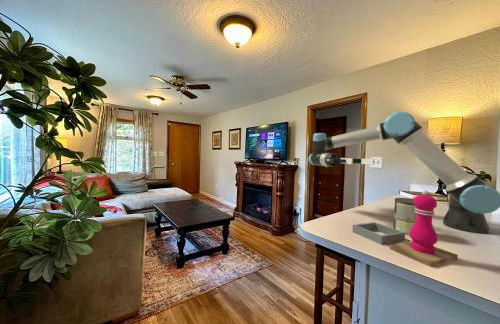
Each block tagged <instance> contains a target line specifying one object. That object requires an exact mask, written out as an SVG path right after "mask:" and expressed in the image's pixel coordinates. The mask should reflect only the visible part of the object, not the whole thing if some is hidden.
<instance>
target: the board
mask: <svg viewBox="0 0 500 324" xmlns="http://www.w3.org/2000/svg"><path fill="white" fill-rule="evenodd" d="M411 241H412V240H408V241H401V242H398V243H397V242H396V243H391V244H389V245H390V246H389V247H390V248H389V249H390V250H392V251H394V252H396V253H398V254H401V255H403V256H405V257H407V258H409V259H412V260H414V261H416V262H419V263H422V264H423V265H425V266H428V267H430V268H432V267H436V266H438V265H442V264H445V263H450V262H452V261H453V262H454V261H456V260H458V257H459V255H458V254H456V253H453V252H450V251H448V250H445V249H443V248H439V247H437V246H434V247H435V253H433V254H428V253H423V252H419V251H416V250H414V249H412V248H411Z"/></svg>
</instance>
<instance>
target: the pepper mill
mask: <svg viewBox="0 0 500 324" xmlns="http://www.w3.org/2000/svg"><path fill="white" fill-rule="evenodd" d="M429 194H430V192H429V191H428V190H426V189H424V190H422V191H421V194H418V195H416V196H415V197H414V198H413V199H414V200H413V203H414V205H415V206H416V208H415V213H416V221H415V223H414V225H413V227H412V228H411V230H410V233H409V236H408V237H409V238H411V240H410V241H411V248H412V249H414V250H416V251H419V252H423V253H428V254H433V253H435V247H436V246H435V245H436V244H437V243H438V240H439V239H438V234H437V232H436V230H435V229H434V226H433V217H434V216H435V209H436V208H437V206H438V201H437V200H436V198H435V197H433V196H431V195H429Z"/></svg>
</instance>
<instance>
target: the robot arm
mask: <svg viewBox="0 0 500 324" xmlns="http://www.w3.org/2000/svg"><path fill="white" fill-rule="evenodd" d="M423 131H424V127H423V126H422V125H421V124H419V123H418V122H417V121H416V120H415V117H414V116H413V115H412V114H411V113H409V112H406V111H396V112H393V113H391V114H390V115H389V116H387V118H386V119H385V120H384V122H381V123H378V125H376V126H373V127H367V128H363V129H359V130H355V131H350V132H346V133H342V134H338V135H334V136H329V137H327V134H326V132H325V133H324V132H318V133H317V132H315V133H313V135H312V151H311V152H312V153H310V154H309V156H308V158H307V159H308V162H309V164H310V165H313V166H319V167H325V168H328V167H329V168H330V167H331V168H336V167H338V166H340V165H353V164H361V165H373V166H374V165H375V158H365V157H364V156H363V157H361V158H353V157H352V158H351V157H350V158H349V157H346V156H345V157H344V156H340V155H339V154H338V153H336V152H334V153H333V152H326V151H329V150H332V149H336V148H341V147H345V146H351V145H356V144H357V145H358V144H362V143H366V142H371V141H375V140H376V141H377V140H381V141H384V140H385V141H386V140H394V141H395V143H397V144H398V145H401V146H405V147H406V148H407V149H408V150H410V152H411V153H412V154H413V155H414V156H416V158H417V159H418V160H419V161H421V163H423V164H424V165H425V166H426V168H428V169H429V170H430V171H431V172H432V173H433V174H434V175H435V176H436V177H437V178H439V179H440V181H441V182H442V183H444V184H445V187H446V188H445V191H446V192H447V193H448V194H449V199H448V208H447V209H448V210H447V211H446V213H445V215H444V217H443V219H442V224H443V225H444V226H446V227H449V228H453V229H455V230H459V231H463V232H469V233H478V234H486V233H487V234H488V233H490V226H489V223H488V221H487V218H486V215H485V214H490V213H493V212H496V211H497V210H498V209H499V208H500V192H499V191H498V190H497V189H496V188H494V187H492V186H489V185H488V184H487V182H486V180H483V179H481V178H480V177H479V176H478V175H477V174H472V173H471V174H470V173H468V172H466V171H465V169H464V168H463V167H461V166H460V165H459V164H458V163H457V162H456V161H455V160H453V159H452V158H451V157H450V156H449V155H448V154H447V153H446V152H445V151H444V150H442V149H441V148H440V147H439V146H438V145H437V144H436V143H434V142H433V141H432V140H431V139H430V138H429V137H428V136H427V135H426V134H424V132H423Z"/></svg>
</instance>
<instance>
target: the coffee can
mask: <svg viewBox="0 0 500 324" xmlns="http://www.w3.org/2000/svg"><path fill="white" fill-rule="evenodd" d="M413 200H414V198H410V197H409V198H407V197H395V198H394V212H393V227H392V228H393V229H396V230H399V231H402V232H405V236H407V237H410V236H409V233H410V230H411V228H412V227H413V225H414V223H415V221H416V213H415V208H416V206H415V205H414V203H413Z"/></svg>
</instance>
